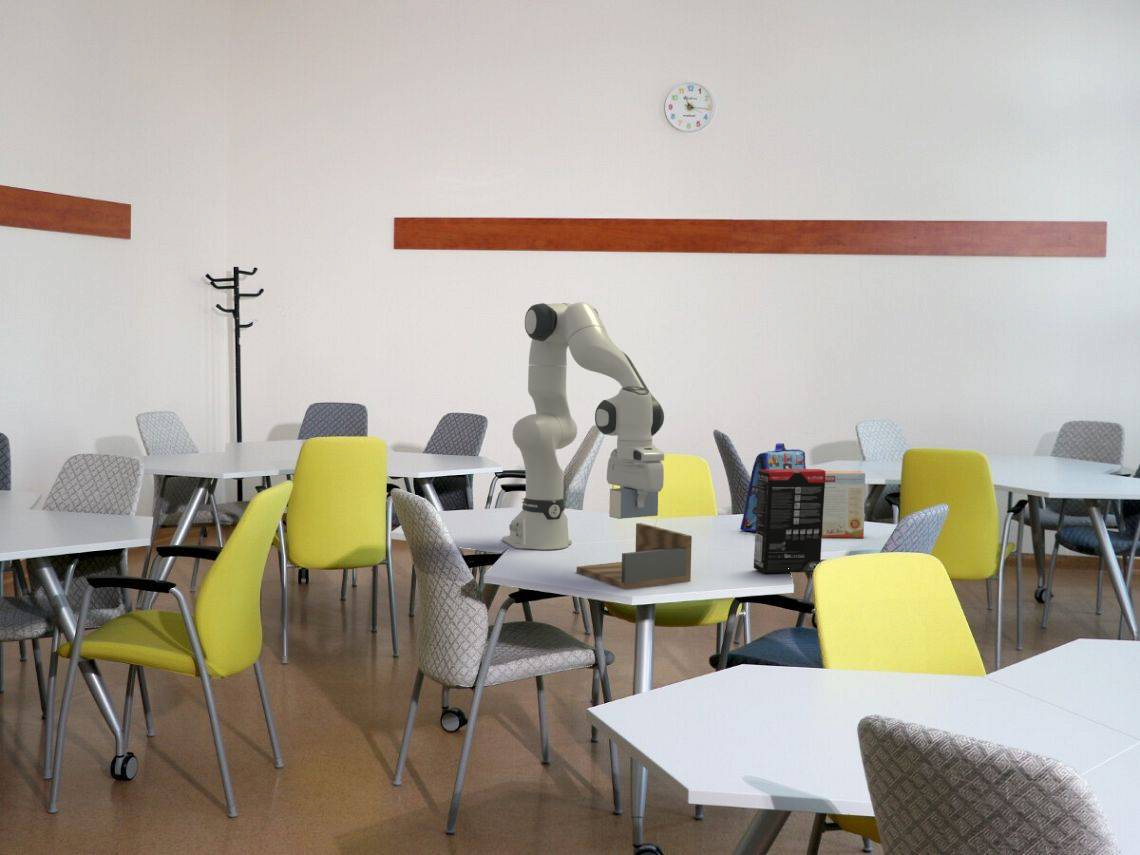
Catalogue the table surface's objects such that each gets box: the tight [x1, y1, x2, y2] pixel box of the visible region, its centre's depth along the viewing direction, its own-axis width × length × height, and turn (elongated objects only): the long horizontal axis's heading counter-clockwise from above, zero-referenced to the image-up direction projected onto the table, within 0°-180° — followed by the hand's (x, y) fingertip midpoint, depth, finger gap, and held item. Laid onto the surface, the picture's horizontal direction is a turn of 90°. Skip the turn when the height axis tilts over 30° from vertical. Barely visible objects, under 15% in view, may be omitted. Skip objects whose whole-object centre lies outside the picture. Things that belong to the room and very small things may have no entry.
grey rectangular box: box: [608, 487, 659, 520], centre depth 264 cm, size 4×12×7 cm, turn 121°
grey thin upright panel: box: [621, 547, 687, 583], centre depth 257 cm, size 2×18×7 cm, turn 121°
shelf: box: [576, 522, 693, 590], centre depth 266 cm, size 22×20×12 cm
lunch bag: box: [740, 442, 807, 533], centre depth 342 cm, size 22×14×29 cm, turn 131°
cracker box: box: [822, 470, 866, 539], centre depth 332 cm, size 14×6×21 cm, turn 92°
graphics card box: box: [753, 468, 826, 574], centre depth 276 cm, size 17×7×27 cm, turn 107°
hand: (633, 505), depth 264 cm, fingers closed on grey rectangular box, 4 cm apart
